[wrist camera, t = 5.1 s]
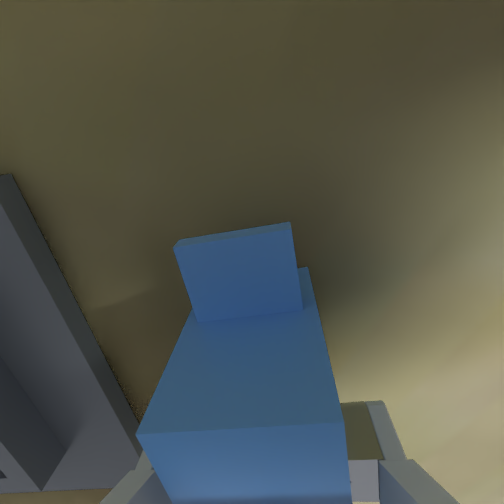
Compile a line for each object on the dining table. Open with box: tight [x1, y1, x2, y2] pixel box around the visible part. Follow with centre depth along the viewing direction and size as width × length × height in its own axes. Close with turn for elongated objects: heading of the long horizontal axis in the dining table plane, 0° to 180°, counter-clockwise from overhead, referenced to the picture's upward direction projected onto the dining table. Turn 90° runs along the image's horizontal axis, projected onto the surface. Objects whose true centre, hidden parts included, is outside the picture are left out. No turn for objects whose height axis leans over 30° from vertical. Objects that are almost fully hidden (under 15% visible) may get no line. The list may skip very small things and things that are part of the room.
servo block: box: [135, 222, 352, 504], centre depth 9 cm, size 4×12×7 cm, turn 11°
